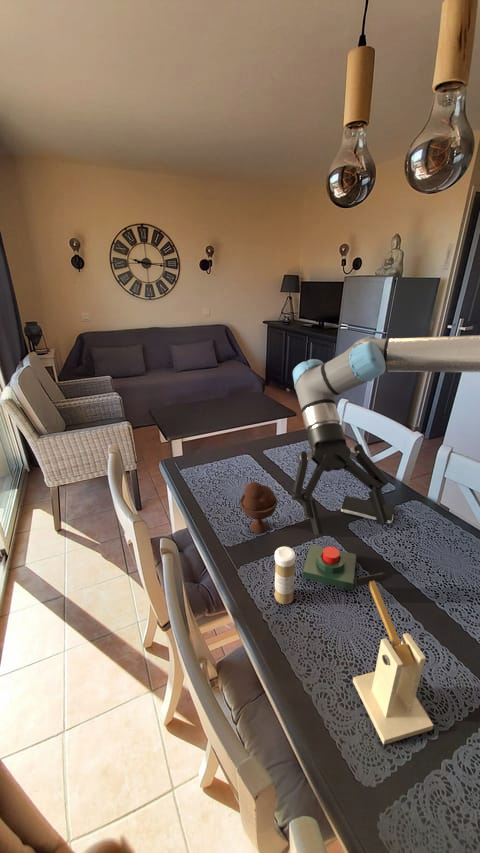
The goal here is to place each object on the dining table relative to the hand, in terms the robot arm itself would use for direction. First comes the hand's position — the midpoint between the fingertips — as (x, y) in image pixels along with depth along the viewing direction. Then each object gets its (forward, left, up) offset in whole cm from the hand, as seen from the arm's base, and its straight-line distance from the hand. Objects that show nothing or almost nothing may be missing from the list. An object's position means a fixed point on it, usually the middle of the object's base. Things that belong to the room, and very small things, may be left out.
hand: (351, 529), depth 70 cm
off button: (+4, -13, -20) cm, 24 cm away
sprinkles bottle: (+13, -1, -24) cm, 27 cm away
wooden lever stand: (-10, +15, -24) cm, 30 cm away
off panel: (+4, -13, -24) cm, 27 cm away
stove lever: (-7, +11, -9) cm, 16 cm away
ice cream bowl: (+26, -23, -24) cm, 42 cm away
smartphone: (-4, -41, -24) cm, 47 cm away
